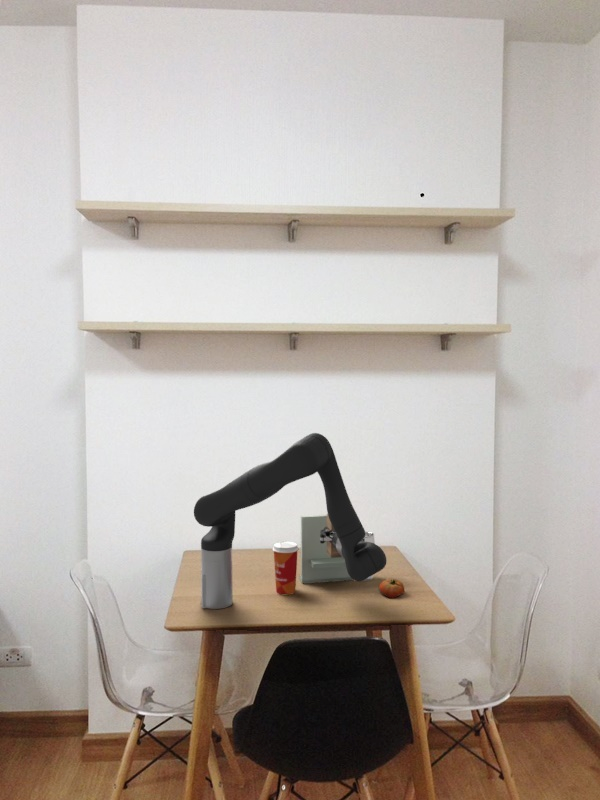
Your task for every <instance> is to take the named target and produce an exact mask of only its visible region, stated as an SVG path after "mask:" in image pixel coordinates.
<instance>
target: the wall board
mask: <svg viewBox="0 0 600 800" xmlns="http://www.w3.org/2000/svg"><path fill="white" fill-rule="evenodd" d="M325 527H327V514H311V515H309V514H308V515H300V575H299V576H298V577H299V578H298V579H299V581H300V582H301V584H302V583H304V584H312V583H313V584H315V583H314V582H318V583H328V582H329V581H332V582H342V581H344V580H346V581H352V580H353V579H352V578H351V577H350V576H349V574H348V572H347V568H346V564H345V559H344V558H343V557H336V558H331V557H330V556H329V555H328V553H327V552H326V550H327V541H326V542H324V543H323V544H322V543H320V530H323V529H324V528H325Z"/></svg>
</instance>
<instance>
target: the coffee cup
mask: <svg viewBox="0 0 600 800" xmlns="http://www.w3.org/2000/svg"><path fill="white" fill-rule="evenodd" d="M299 550H300V549H299V546H298V544H297V543H296V542H292V541H285V542H284V541H281V542H276V543H274V545H273V547H272V551H273V559H274V560H273V562H274V577H275V590H276V593H277V594H278V593H279V594H278V595H282V594H289V595H292V593H293V594H294V593H296V587H297V586H296V583H297V571H298V570H297V568H298V567H297V566H298V551H299Z"/></svg>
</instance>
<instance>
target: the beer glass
mask: <svg viewBox="0 0 600 800" xmlns="http://www.w3.org/2000/svg"><path fill="white" fill-rule="evenodd" d="M365 542H371V543H374V544H376V542H375V534H374V533H373V532H369V531H365ZM373 579H374V575H372V576H370V577H368V578H366V579H365V580H363V581H362V582H370V581H373Z"/></svg>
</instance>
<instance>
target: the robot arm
mask: <svg viewBox="0 0 600 800" xmlns="http://www.w3.org/2000/svg"><path fill="white" fill-rule="evenodd" d="M315 474H318V475H319V478H320V479H321V482H322V485H323V488H324V489H323V490H324V495H325V505H326V512H327V514H328V516H329V519H330V522H331V524H332V526H333V528H334V530H330V529H329V528H328V527H325V528H324V529H323V530H320V543H322V544H323V543H324V542H326V541H329V542H330V543H332V544H333V546H334V548H335V549H336V550H337V552H338V553H339V554H340V555H341V556H342V557H343V558H344V559H345V564H346V568H347V572H348V574H349V576H350V577H351V578H352V580H353V581H354V582H364V581H363V580H365V579H366V578H368V577H370V576H372V575H373V576H374V575H375V574H377V573H379V572H380V571H382V570H383V569H384V568H385V567H386V566H387V556H386V553H385V551H384V550H383V548H381V547H380V546H379V545H377V544H376V543H375V544H374V543H371V542H365V532H366V530H365V527H364V526H363V524H362V522H361V521H360V518H359V516H358V514H357V512H356V510H355V508H354V506H353V503H352V501H351V499H350V497H349V494H348V492H347V488H346V485H345V482H344V479H343V476H342V473H341V471H340V468H339V464H338V462H337V458H336V455H335V453H334V449H333V446H332V445H331V443H330V441H329V439H328V438H327V437H326V436H324V435H323V434H320V433H318V432H313V433H310V434H307V435H306V436H304V437H302V438H301V439H300V440H298V441H296V442H294V443H293V444H292V445H291V446H289V447H288V448H287V449H286V450H285V451H284V452H282V454H280V455H278V456H277V457H276V458H274V459H273V460H271V461H268V462H264V463H261V464H257V465H256V466H254V467H252V468H251V469H249V470H247V471H246V472H244V473H242V474H241V475H240V476H238V477H237V478H235V479H234V480H232V481H230V482H229V483H227V484H226V485H225V486H223V487H222V488H220V489H218V490H216V491H213V492H211V493H209V494H206V495H203V496H201V497H199V499H198V500H196V502H195V505H194V507H193V517H194V519H195V520H196V522H197V523H198V524H199V525H200V526H203V527H207V528H208V527H209V528H210V527H211V528H210V530H209V531H208V532H207V533H206V534H204V536H203V537H202V538H201V541H200V549H201V550H200V557H201V558H200V562H201V563H200V564H201V566H200V568H201V569H200V589H201V590H200V594H201V595H200V596H201V597H200V599H201V608H202V609H210V610H211V609H212V610H217V609H218V610H219V609H224V608H228V607H230V606H232V605H233V601H234V600H233V597H234V595H233V592H234V591H233V540H234V538H235V533H236V511H239V510H242V509H246V508H250V507H252V506H255V505H257V504H260V503H261V502H263V501H265V500H268V499H269V498H271V497H272V496H274V495H276V494H277V493H278V492H279V491H281V490H282V489H283V488H284V487H285V486H287V485H289V484H291V483H294V482H296V481H299V480H302V479H305V478H307V477H310V476H312V475H315Z"/></svg>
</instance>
